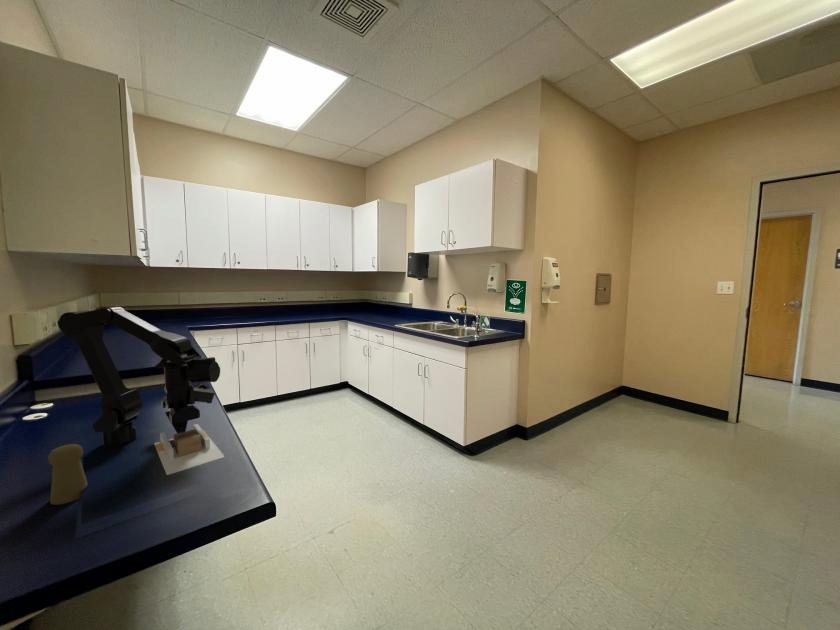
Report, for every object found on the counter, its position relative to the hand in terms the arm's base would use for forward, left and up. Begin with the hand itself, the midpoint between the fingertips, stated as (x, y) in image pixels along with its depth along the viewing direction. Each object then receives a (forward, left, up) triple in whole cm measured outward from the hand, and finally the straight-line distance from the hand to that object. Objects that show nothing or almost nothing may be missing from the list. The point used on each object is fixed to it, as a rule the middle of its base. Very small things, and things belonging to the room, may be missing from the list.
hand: (181, 436), depth 97 cm
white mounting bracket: (0, -8, -2) cm, 8 cm away
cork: (-22, -11, -3) cm, 25 cm away
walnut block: (0, -8, -1) cm, 8 cm away
